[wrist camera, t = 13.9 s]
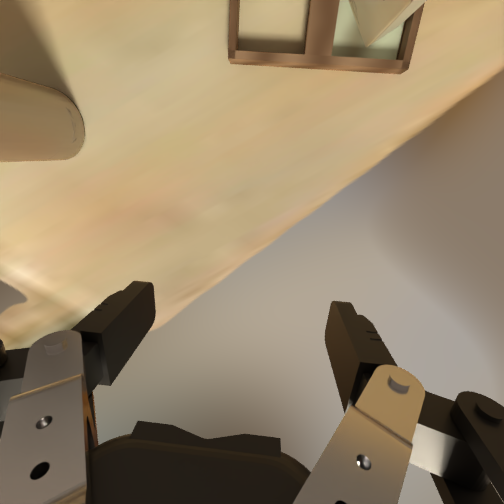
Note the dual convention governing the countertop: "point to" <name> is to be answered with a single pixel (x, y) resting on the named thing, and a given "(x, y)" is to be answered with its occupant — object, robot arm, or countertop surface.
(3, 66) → the countertop surface
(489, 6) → the countertop surface
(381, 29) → the skincare box
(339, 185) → the countertop surface
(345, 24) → the walnut organizer
